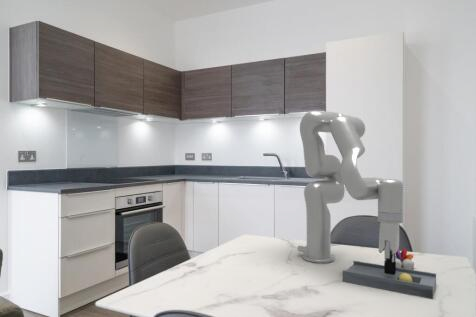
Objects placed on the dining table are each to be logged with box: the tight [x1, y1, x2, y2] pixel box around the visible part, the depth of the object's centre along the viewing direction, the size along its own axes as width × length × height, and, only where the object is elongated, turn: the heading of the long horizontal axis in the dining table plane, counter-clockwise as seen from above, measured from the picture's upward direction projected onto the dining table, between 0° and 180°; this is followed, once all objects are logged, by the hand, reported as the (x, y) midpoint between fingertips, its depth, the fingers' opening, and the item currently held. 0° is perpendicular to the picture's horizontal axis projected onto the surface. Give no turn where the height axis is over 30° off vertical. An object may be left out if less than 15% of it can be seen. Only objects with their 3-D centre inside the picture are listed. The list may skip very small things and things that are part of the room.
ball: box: [398, 273, 412, 282], centre depth 110 cm, size 4×4×4 cm
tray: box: [342, 260, 437, 300], centre depth 113 cm, size 26×14×4 cm, turn 57°
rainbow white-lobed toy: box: [395, 248, 415, 270], centre depth 130 cm, size 8×10×7 cm
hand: (390, 273), depth 113 cm, fingers closed
